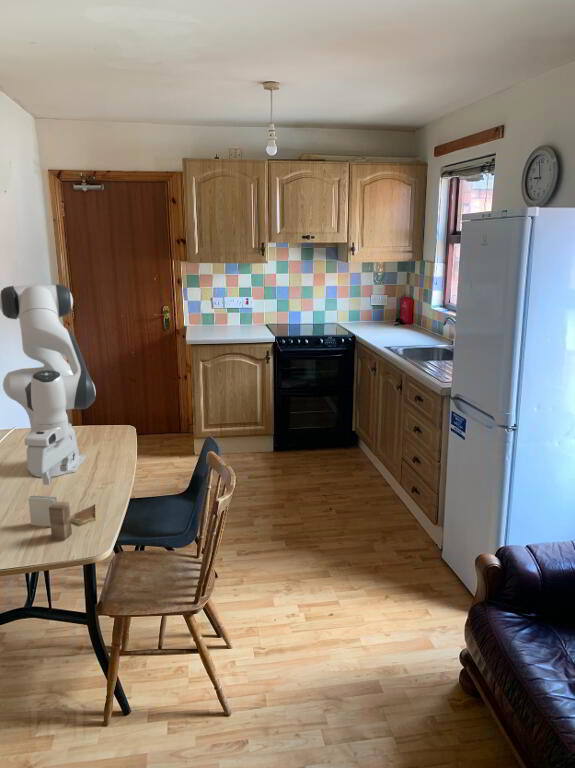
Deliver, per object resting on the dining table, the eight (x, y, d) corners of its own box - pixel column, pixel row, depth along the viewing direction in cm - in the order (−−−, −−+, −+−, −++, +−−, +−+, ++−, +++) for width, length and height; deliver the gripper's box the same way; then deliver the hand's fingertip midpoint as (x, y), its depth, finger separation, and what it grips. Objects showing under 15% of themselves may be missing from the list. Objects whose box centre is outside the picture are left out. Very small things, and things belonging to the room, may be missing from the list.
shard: (95, 508, 188) (95, 503, 187) (112, 513, 184) (112, 508, 183) (67, 521, 179) (67, 516, 178) (84, 528, 175) (84, 522, 174)
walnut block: (59, 532, 171) (55, 501, 168) (71, 533, 170) (69, 502, 168) (52, 539, 167) (48, 507, 165) (65, 540, 167) (62, 508, 164)
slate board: (34, 523, 177) (31, 495, 174) (59, 524, 176) (56, 497, 174) (31, 525, 175) (28, 497, 173) (56, 527, 174) (53, 499, 172)
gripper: (59, 418, 171) (63, 463, 174) (20, 441, 151) (25, 491, 155) (80, 419, 170) (84, 464, 174) (43, 442, 151) (48, 492, 154)
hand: (56, 477), depth 164 cm, fingers open, 8 cm apart
